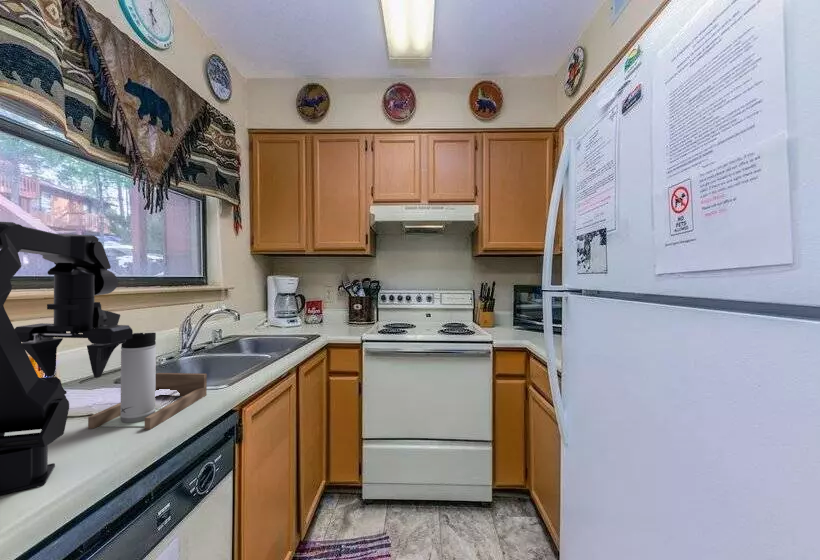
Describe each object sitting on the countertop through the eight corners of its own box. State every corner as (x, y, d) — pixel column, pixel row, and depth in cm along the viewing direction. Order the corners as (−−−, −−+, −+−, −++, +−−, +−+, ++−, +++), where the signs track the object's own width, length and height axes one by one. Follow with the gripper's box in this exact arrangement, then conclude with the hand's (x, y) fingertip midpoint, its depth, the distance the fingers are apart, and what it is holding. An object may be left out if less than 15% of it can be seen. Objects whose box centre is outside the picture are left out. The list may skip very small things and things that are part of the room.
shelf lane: (150, 429, 73) (150, 402, 73) (88, 428, 73) (88, 400, 73) (206, 395, 94) (206, 373, 93) (158, 394, 93) (158, 372, 93)
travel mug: (118, 426, 73) (119, 334, 73) (121, 415, 79) (122, 330, 78) (155, 419, 77) (155, 332, 77) (155, 409, 82) (156, 328, 82)
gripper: (153, 296, 75) (152, 366, 75) (67, 294, 75) (67, 364, 75) (109, 300, 64) (108, 382, 64) (8, 298, 63) (8, 380, 64)
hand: (74, 376), depth 67 cm, fingers open, 9 cm apart
